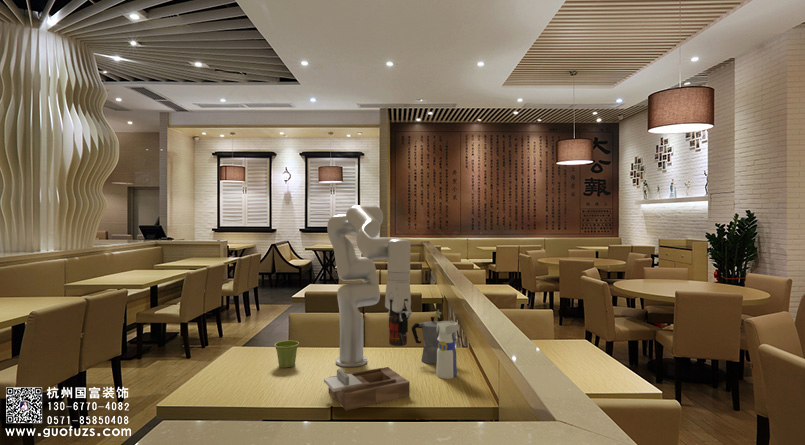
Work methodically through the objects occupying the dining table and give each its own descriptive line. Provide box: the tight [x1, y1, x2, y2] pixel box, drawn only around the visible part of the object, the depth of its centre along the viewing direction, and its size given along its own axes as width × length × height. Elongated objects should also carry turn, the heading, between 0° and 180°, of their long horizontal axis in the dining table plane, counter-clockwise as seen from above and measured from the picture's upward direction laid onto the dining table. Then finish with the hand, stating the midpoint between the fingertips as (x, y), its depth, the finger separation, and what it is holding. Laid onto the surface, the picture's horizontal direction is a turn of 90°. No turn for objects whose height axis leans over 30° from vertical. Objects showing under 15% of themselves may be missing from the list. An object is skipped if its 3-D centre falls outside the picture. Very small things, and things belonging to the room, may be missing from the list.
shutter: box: [323, 368, 362, 392], centre depth 142 cm, size 10×10×4 cm
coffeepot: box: [411, 316, 439, 365], centre depth 181 cm, size 15×9×18 cm, turn 103°
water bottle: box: [435, 308, 460, 380], centre depth 164 cm, size 8×9×25 cm
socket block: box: [328, 366, 410, 412], centre depth 146 cm, size 16×22×6 cm
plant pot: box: [273, 340, 300, 369], centre depth 174 cm, size 9×9×9 cm
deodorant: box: [388, 299, 408, 347], centre depth 148 cm, size 6×6×15 cm
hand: (398, 329), depth 148 cm, fingers closed on deodorant, 5 cm apart
